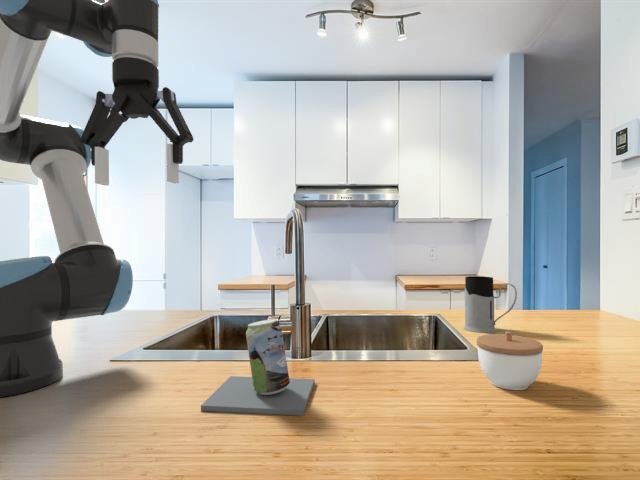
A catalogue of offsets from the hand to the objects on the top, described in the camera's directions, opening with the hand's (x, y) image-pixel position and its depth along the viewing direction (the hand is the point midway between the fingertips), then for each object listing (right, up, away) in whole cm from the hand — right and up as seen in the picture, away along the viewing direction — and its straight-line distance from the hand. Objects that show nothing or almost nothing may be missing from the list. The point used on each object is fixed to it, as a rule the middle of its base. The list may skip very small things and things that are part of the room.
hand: (137, 183), depth 69 cm
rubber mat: (+23, -37, -4) cm, 43 cm away
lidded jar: (+67, -36, +1) cm, 76 cm away
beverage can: (+24, -36, -4) cm, 43 cm away
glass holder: (+81, -36, +41) cm, 98 cm away
